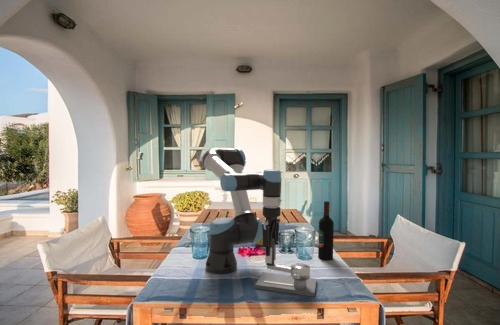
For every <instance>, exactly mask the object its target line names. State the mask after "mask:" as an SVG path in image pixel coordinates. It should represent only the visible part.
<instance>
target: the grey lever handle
mask: <svg viewBox="0 0 500 325" xmlns="http://www.w3.org/2000/svg"><path fill="white" fill-rule="evenodd" d="M271 248H272V263H271V264H270V263H265V264H266V266H267V267H266V270H274V271H277V272H284V273H290V276H291V277H292V278H293V279H295V280H300V281H304V280H308V279H309V278H311V266H309V265H308V264H306V263H301V262H298V263H297V262H296V263H292V264H291V265H290V266H288V265H282V264H276V263H275V260H274V250H275V239H274V238H272V242H271Z"/></svg>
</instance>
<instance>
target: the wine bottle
mask: <svg viewBox="0 0 500 325" xmlns="http://www.w3.org/2000/svg"><path fill="white" fill-rule="evenodd" d="M334 227H335V226H334V220H333V218H331V217H330V201H324V202H323V216H322V217H321V218H320V219H319V222H318V241H317V242H318V246H317V247H318V248H317V249H318V250H317V251H318V252H317V256H318V259H319V260H321V261H324V262H325V261H326V262H327V261H328V262H329V261H333V259H334V231H335V230H334Z"/></svg>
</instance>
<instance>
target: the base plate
mask: <svg viewBox="0 0 500 325" xmlns="http://www.w3.org/2000/svg"><path fill="white" fill-rule="evenodd" d="M254 285H255V286H254V288H255V289H258V290H266V291H272V292H278V293H279V292H280V293H287V294H294V295H299V296H307V297H308V296H309V297H315V295H316V289H317V288H316V287H317V278H314V277H310V278H309V279H308V280H304V281H300V280H295V279H293V278H292V277H291V274H290V275H289V274H281V273H274V272H272V273H271V272H264V271H262V272H261V274H260V276H259V278H258V280H257V281H256V283H255V284H254Z"/></svg>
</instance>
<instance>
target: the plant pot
mask: <svg viewBox="0 0 500 325" xmlns="http://www.w3.org/2000/svg"><path fill="white" fill-rule="evenodd" d="M255 244H256V245H258V246H263V233H262V237H261V239H260V240H259V241H257V242H255Z"/></svg>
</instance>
